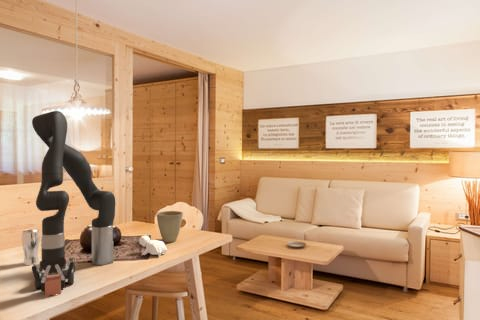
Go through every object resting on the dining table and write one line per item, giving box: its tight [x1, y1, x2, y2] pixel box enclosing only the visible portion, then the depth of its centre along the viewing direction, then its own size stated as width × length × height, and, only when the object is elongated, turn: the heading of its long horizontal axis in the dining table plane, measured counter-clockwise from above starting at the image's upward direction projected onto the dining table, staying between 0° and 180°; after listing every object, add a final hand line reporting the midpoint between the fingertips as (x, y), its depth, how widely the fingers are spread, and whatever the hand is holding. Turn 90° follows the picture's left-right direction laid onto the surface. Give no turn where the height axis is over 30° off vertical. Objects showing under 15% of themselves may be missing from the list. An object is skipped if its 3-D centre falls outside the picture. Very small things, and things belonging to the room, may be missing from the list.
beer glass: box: [21, 228, 41, 266], centre depth 159 cm, size 7×7×15 cm
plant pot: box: [156, 210, 184, 243], centre depth 199 cm, size 15×15×16 cm
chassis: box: [34, 257, 76, 289], centre depth 140 cm, size 13×19×6 cm
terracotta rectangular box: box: [44, 274, 62, 297], centre depth 128 cm, size 5×6×6 cm
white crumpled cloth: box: [138, 235, 168, 258], centre depth 175 cm, size 9×8×15 cm
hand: (53, 290), depth 128 cm, fingers closed on terracotta rectangular box, 5 cm apart
